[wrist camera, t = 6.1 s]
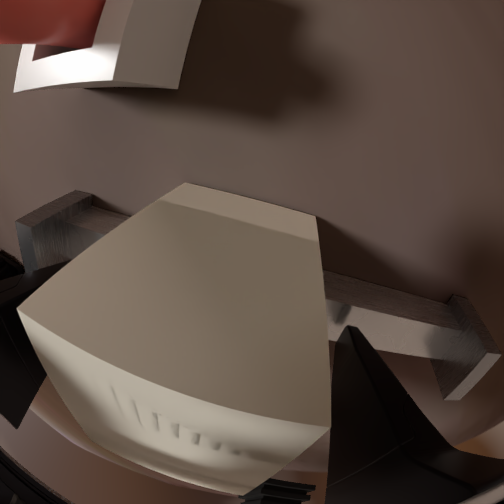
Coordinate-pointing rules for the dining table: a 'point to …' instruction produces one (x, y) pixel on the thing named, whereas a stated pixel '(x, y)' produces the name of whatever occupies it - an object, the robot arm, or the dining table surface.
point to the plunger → (50, 22)
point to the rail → (336, 296)
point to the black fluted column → (278, 493)
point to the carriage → (193, 338)
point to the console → (117, 50)
